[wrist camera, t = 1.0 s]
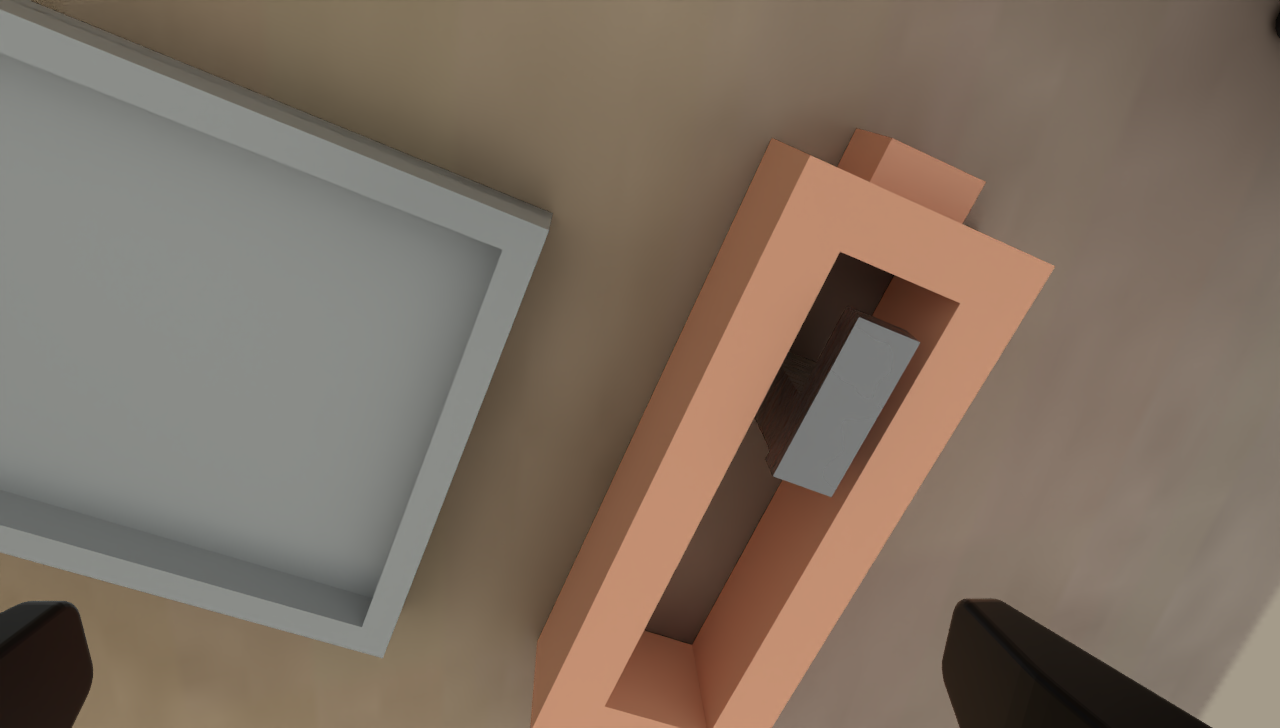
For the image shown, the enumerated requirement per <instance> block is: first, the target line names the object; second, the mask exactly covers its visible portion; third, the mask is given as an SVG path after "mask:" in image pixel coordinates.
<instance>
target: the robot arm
mask: <svg viewBox="0 0 1280 728" xmlns="http://www.w3.org/2000/svg"><path fill="white" fill-rule="evenodd" d="M1276 31H1277V35H1278V36H1279V37H1280V12H1279V15H1278V17H1277V19H1276ZM942 672H943V679H944V683H945V686H946V689H947V692H948V695H949V698H950V701H951V704H952V707H953V710H954V712H955V715H956V718H957V721H958V724H959V727H960V728H1212V727H1210V726H1208V725H1207V724H1205V723H1204V722H1202V721H1200V720H1199V719H1197V718H1195V717H1194V716H1192V715H1190V714H1189V713H1187V712H1185V711H1184V710H1182V709H1180V708H1179V707H1177V706H1175V705H1174V704H1172V703H1170V702H1169V701H1167V700H1165V699H1164V698H1162V697H1160V696H1159V695H1157V694H1155V693H1154V692H1152V691H1150V690H1149V689H1147V688H1145V687H1144V686H1142V685H1140V684H1139V683H1137V682H1135V681H1134V680H1132V679H1130V678H1129V677H1127V676H1125V675H1124V674H1122V673H1120V672H1119V671H1117V670H1116V669H1114V668H1112V667H1111V666H1109V665H1107V664H1106V663H1104V662H1102V661H1101V660H1099V659H1097V658H1096V657H1094V656H1092V655H1091V654H1089V653H1087V652H1086V651H1084V650H1082V649H1081V648H1079V647H1077V646H1076V645H1074V644H1072V643H1071V642H1069V641H1067V640H1066V639H1064V638H1062V637H1061V636H1059V635H1057V634H1056V633H1054V632H1052V631H1051V630H1049V629H1047V628H1046V627H1044V626H1042V625H1041V624H1039V623H1037V622H1036V621H1034V620H1032V619H1031V618H1029V617H1027V616H1026V615H1024V614H1023V613H1021V612H1019V611H1018V610H1016V609H1014V608H1013V607H1011V606H1009V605H1008V604H1006V603H1004V602H1002V601H1001V600H998V599H963V600H961V601H959V602H958V603H957V605H956V606H955V609H954V612H953V615H952V620H951V624H950V628H949V633H948V637H947V642H946V646H945V650H944V655H943V660H942ZM92 679H93V665H92V660H91V656H90V653H89V649H88V645H87V641H86V637H85V633H84V629H83V625H82V621H81V618H80V614H79V612H78V609H77V608H76V607H75V606H74V605H73V604H72V603H69V602H67V601H28V602H24V603H21V604H18V605H16V606H14V607H12V608H10V609H8V610H6V611H4V612H2V613H0V728H72V726H73V724H74V722H75V720H76V718H77V716H78V714H79V712H80V710H81V708H82V706H83V704H84V702H85V700H86V698H87V695H88V693H89V690H90V687H91V684H92Z"/></svg>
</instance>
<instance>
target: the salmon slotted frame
mask: <svg viewBox="0 0 1280 728" xmlns="http://www.w3.org/2000/svg"><path fill="white" fill-rule="evenodd" d="M985 183H986V182H985V181H983V180H980V179H978V178H976V177H974V176H972V175H970V174H968V173H966V172H963V171H961V170H959V169H957V168H955V167H953V166H951V165H949V164H946V163H944V162H942V161H940V160H938V159H936V158H934V157H932V156H929V155H927V154H925V153H923V152H921V151H919V150H917V149H914V148H912V147H910V146H908V145H906V144H904V143H902V142H900V141H897V140H895V139H893V138H890V137H887V136H883V135H879V134H876V133H872V132H868V131H865V130H861V129H857V128H856V130H855V132H854V134H853V136H852V138H851V140H850V142H849V144H848V146H847V148H846V150H845V152H844V154H843V156H842V158H841V160H840V162H839V164H838V166H837V167H835V166H833V165H831V164H829V163H827V162H824V161H822V160H820V159H818V158H816V157H813V156H811V155H809V154H807V153H804V152H802V151H800V150H798V149H796V148H793V147H791V146H789V145H787V144H785V143H782V142H780V141H778V140H776V139H773V138H772V139H771V141H770V143H769V145H768V147H767V150H766V152H765V154H764V156H763V158H762V160H761V162H760V165H759V167H758V169H757V171H756V173H755V175H754V177H753V180H752V182H751V184H750V186H749V188H748V190H747V192H746V195H745V197H744V199H743V201H742V203H741V205H740V208H739V210H738V212H737V214H736V216H735V218H734V220H733V223H732V225H731V227H730V229H729V231H728V233H727V235H726V238H725V240H724V242H723V244H722V246H721V248H720V250H719V253H718V255H717V257H716V259H715V261H714V263H713V265H712V268H711V270H710V272H709V274H708V276H707V278H706V281H705V283H704V285H703V287H702V289H701V291H700V293H699V296H698V298H697V300H696V302H695V304H694V306H693V308H692V311H691V313H690V315H689V317H688V319H687V321H686V323H685V326H684V328H683V330H682V332H681V334H680V336H679V338H678V341H677V343H676V345H675V347H674V349H673V351H672V354H671V356H670V358H669V360H668V362H667V364H666V366H665V369H664V371H663V373H662V375H661V377H660V379H659V381H658V384H657V386H656V388H655V390H654V392H653V394H652V396H651V399H650V401H649V403H648V405H647V407H646V409H645V411H644V414H643V416H642V418H641V420H640V422H639V424H638V427H637V429H636V431H635V433H634V435H633V437H632V439H631V442H630V444H629V446H628V448H627V450H626V452H625V454H624V457H623V459H622V461H621V463H620V465H619V467H618V469H617V472H616V474H615V476H614V478H613V480H612V482H611V484H610V487H609V489H608V491H607V493H606V495H605V497H604V500H603V502H602V504H601V506H600V508H599V510H598V512H597V515H596V517H595V519H594V521H593V523H592V525H591V527H590V530H589V532H588V534H587V536H586V538H585V540H584V542H583V545H582V547H581V549H580V551H579V553H578V555H577V557H576V560H575V562H574V564H573V566H572V568H571V570H570V573H569V575H568V577H567V579H566V581H565V583H564V585H563V588H562V590H561V592H560V594H559V596H558V598H557V600H556V603H555V605H554V607H553V609H552V611H551V613H550V615H549V618H548V620H547V622H546V624H545V626H544V628H543V630H542V633H541V635H540V637H539V639H538V641H537V652H536V664H535V676H534V689H533V701H532V713H531V725H530V728H772V726H773V725H774V723H775V722H776V720H777V718H778V717H779V715H780V713H781V712H782V710H783V709H784V707H785V705H786V704H787V702H788V700H789V699H790V697H791V696H792V694H793V692H794V691H795V689H796V687H797V686H798V684H799V682H800V681H801V679H802V678H803V676H804V674H805V673H806V671H807V669H808V668H809V666H810V665H811V663H812V661H813V660H814V658H815V656H816V655H817V653H818V652H819V650H820V648H821V647H822V645H823V643H824V642H825V640H826V639H827V637H828V635H829V634H830V632H831V630H832V629H833V627H834V626H835V624H836V622H837V621H838V619H839V617H840V616H841V614H842V613H843V611H844V609H845V608H846V606H847V604H848V603H849V601H850V600H851V598H852V596H853V595H854V593H855V591H856V590H857V588H858V586H859V585H860V583H861V582H862V580H863V578H864V577H865V575H866V573H867V572H868V570H869V569H870V567H871V565H872V564H873V562H874V560H875V559H876V557H877V556H878V554H879V552H880V551H881V549H882V547H883V546H884V544H885V543H886V541H887V539H888V538H889V536H890V534H891V533H892V531H893V530H894V528H895V526H896V525H897V523H898V521H899V520H900V518H901V517H902V515H903V513H904V512H905V510H906V508H907V507H908V505H909V504H910V502H911V500H912V499H913V497H914V495H915V494H916V492H917V490H918V489H919V487H920V486H921V484H922V482H923V481H924V479H925V477H926V476H927V474H928V473H929V471H930V469H931V468H932V466H933V464H934V463H935V461H936V460H937V458H938V456H939V455H940V453H941V451H942V450H943V448H944V447H945V445H946V443H947V442H948V440H949V438H950V437H951V435H952V434H953V432H954V430H955V429H956V427H957V425H958V424H959V422H960V421H961V419H962V417H963V416H964V414H965V412H966V411H967V409H968V408H969V406H970V404H971V403H972V401H973V399H974V398H975V396H976V395H977V393H978V391H979V390H980V388H981V386H982V385H983V383H984V381H985V380H986V378H987V377H988V375H989V373H990V372H991V370H992V368H993V367H994V365H995V364H996V362H997V360H998V359H999V357H1000V355H1001V354H1002V352H1003V351H1004V349H1005V347H1006V346H1007V344H1008V342H1009V341H1010V339H1011V338H1012V336H1013V334H1014V333H1015V331H1016V329H1017V328H1018V326H1019V325H1020V323H1021V321H1022V320H1023V318H1024V316H1025V315H1026V313H1027V312H1028V310H1029V308H1030V307H1031V305H1032V303H1033V302H1034V300H1035V299H1036V297H1037V295H1038V294H1039V292H1040V290H1041V289H1042V287H1043V285H1044V284H1045V282H1046V281H1047V279H1048V277H1049V276H1050V274H1051V272H1052V271H1053V269H1054V268H1055V266H1053V265H1051V264H1049V263H1047V262H1045V261H1042V260H1040V259H1038V258H1036V257H1034V256H1031V255H1029V254H1027V253H1025V252H1023V251H1020V250H1018V249H1016V248H1014V247H1012V246H1009V245H1007V244H1005V243H1003V242H1001V241H998V240H996V239H994V238H992V237H990V236H987V235H985V234H983V233H981V232H979V231H976V230H974V229H972V228H970V227H968V226H965V225H963V222H964V220H965V219H966V217H967V215H968V213H969V211H970V210H971V208H972V206H973V204H974V203H975V201H976V199H977V197H978V195H979V194H980V192H981V190H982V188H983V187H984V185H985ZM840 252H842V253H844V254H847V255H849V256H851V257H854V258H856V259H858V260H861V261H863V262H865V263H868V264H870V265H872V266H875V267H877V268H879V269H882V270H884V271H886V272H889V273H891V274H893V275H894V277H893V279H892V280H891V282H890V284H889V286H888V288H887V290H886V291H885V293H884V295H883V297H882V299H881V301H880V302H879V304H878V306H877V308H876V310H875V311H874V313H873V315H872V316H873V317H876V318H878V319H880V320H883V321H885V322H888V323H890V324H892V325H895V326H897V327H900V328H902V329H904V330H907V331H908V332H909V333H910V334H911V335H912V336H914V337H915V338H916V339H917V340H918V341H919V342H920V344H919V346H918V348H917V350H916V351H915V353H914V355H913V357H912V358H911V360H910V362H909V364H908V365H907V367H906V369H905V371H904V372H903V374H902V376H901V377H900V379H899V381H898V383H897V384H896V386H895V388H894V390H893V391H892V393H891V395H890V397H889V398H888V400H887V402H886V404H885V405H884V407H883V409H882V411H881V412H880V414H879V416H878V417H877V419H876V421H875V423H874V424H873V426H872V428H871V430H870V431H869V433H868V435H867V437H866V438H865V440H864V442H863V444H862V445H861V447H860V449H859V450H858V452H857V454H856V456H855V457H854V459H853V461H852V463H851V464H850V466H849V468H848V470H847V471H846V473H845V475H844V477H843V478H842V480H841V482H840V484H839V485H838V487H837V489H836V490H835V492H834V494H833V496H832V497H829V496H827V495H824V494H821V493H818V492H815V491H813V490H810V489H807V488H804V487H802V486H799V485H796V484H793V483H790V482H788V481H785V480H782V482H781V483H780V485H779V487H778V489H777V491H776V492H775V494H774V496H773V498H772V500H771V502H770V503H769V505H768V507H767V509H766V511H765V513H764V514H763V516H762V518H761V520H760V522H759V524H758V525H757V527H756V529H755V531H754V533H753V535H752V536H751V538H750V540H749V542H748V544H747V546H746V547H745V549H744V551H743V553H742V555H741V556H740V558H739V560H738V562H737V564H736V566H735V567H734V569H733V571H732V573H731V575H730V577H729V578H728V580H727V582H726V584H725V586H724V588H723V589H722V591H721V593H720V595H719V597H718V599H717V600H716V602H715V604H714V606H713V608H712V610H711V611H710V613H709V615H708V617H707V619H706V620H705V622H704V624H703V626H702V628H701V630H700V631H699V633H698V635H697V637H696V639H695V641H694V642H693V644H692V645H690V644H687V643H684V642H681V641H677V640H674V639H671V638H667V637H664V636H661V635H658V634H654V633H651V632H648V631H644V629H645V627H646V626H647V624H648V622H649V620H650V618H651V616H652V614H653V612H654V610H655V608H656V606H657V604H658V602H659V600H660V598H661V597H662V595H663V593H664V591H665V589H666V587H667V585H668V583H669V581H670V579H671V577H672V575H673V573H674V571H675V570H676V568H677V566H678V564H679V562H680V560H681V558H682V556H683V554H684V552H685V550H686V548H687V546H688V544H689V542H690V541H691V539H692V537H693V535H694V533H695V531H696V529H697V527H698V525H699V523H700V521H701V519H702V517H703V515H704V514H705V512H706V510H707V508H708V506H709V504H710V502H711V500H712V498H713V496H714V494H715V492H716V490H717V488H718V487H719V485H720V483H721V481H722V479H723V477H724V475H725V473H726V471H727V469H728V467H729V465H730V463H731V461H732V459H733V458H734V456H735V454H736V452H737V450H738V448H739V446H740V444H741V442H742V440H743V438H744V436H745V434H746V432H747V431H748V429H749V427H750V425H751V423H752V421H753V419H754V417H755V415H756V413H757V411H758V409H759V407H760V405H761V403H762V402H763V400H764V398H765V396H766V394H767V392H768V390H769V388H770V386H771V384H772V382H773V380H774V378H775V376H776V375H777V373H778V371H779V369H780V367H781V365H782V363H783V361H784V359H785V357H786V355H787V353H788V351H789V349H790V348H791V346H792V344H793V342H794V340H795V338H796V336H797V334H798V332H799V330H800V328H801V326H802V324H803V322H804V320H805V319H806V317H807V315H808V313H809V311H810V309H811V307H812V305H813V303H814V301H815V299H816V297H817V295H818V293H819V292H820V290H821V288H822V286H823V284H824V282H825V280H826V278H827V276H828V274H829V272H830V270H831V268H832V266H833V264H834V263H835V261H836V259H837V257H838V255H839V253H840Z"/></svg>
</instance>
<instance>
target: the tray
mask: <svg viewBox="0 0 1280 728" xmlns="http://www.w3.org/2000/svg"><path fill="white" fill-rule="evenodd" d="M552 214H553V213H551V212H548V211H546V210H543V209H541V208H538V207H536V206H533V205H531V204H528V203H526V202H524V201H521V200H519V199H516V198H514V197H511V196H509V195H506V194H504V193H501V192H499V191H497V190H494V189H492V188H489V187H487V186H484V185H482V184H479V183H477V182H474V181H472V180H470V179H467V178H465V177H462V176H460V175H457V174H455V173H452V172H450V171H447V170H445V169H443V168H440V167H438V166H435V165H433V164H430V163H428V162H425V161H423V160H420V159H418V158H416V157H413V156H411V155H408V154H406V153H403V152H401V151H398V150H396V149H393V148H391V147H389V146H386V145H384V144H381V143H379V142H376V141H374V140H371V139H369V138H366V137H364V136H362V135H359V134H357V133H354V132H352V131H349V130H347V129H344V128H342V127H339V126H337V125H335V124H332V123H330V122H327V121H325V120H322V119H320V118H317V117H315V116H312V115H310V114H308V113H305V112H303V111H300V110H298V109H295V108H293V107H290V106H288V105H285V104H283V103H281V102H278V101H276V100H273V99H271V98H268V97H266V96H263V95H261V94H258V93H256V92H253V91H251V90H249V89H246V88H244V87H241V86H239V85H236V84H234V83H231V82H229V81H226V80H224V79H222V78H219V77H217V76H214V75H212V74H209V73H207V72H204V71H202V70H199V69H197V68H195V67H192V66H190V65H187V64H185V63H182V62H180V61H177V60H175V59H172V58H170V57H168V56H165V55H163V54H160V53H158V52H155V51H153V50H150V49H148V48H145V47H143V46H141V45H138V44H136V43H133V42H131V41H128V40H126V39H123V38H121V37H118V36H116V35H114V34H111V33H109V32H106V31H104V30H101V29H99V28H96V27H94V26H91V25H89V24H87V23H84V22H82V21H79V20H77V19H74V18H72V17H69V16H67V15H64V14H62V13H60V12H57V11H55V10H52V9H50V8H47V7H45V6H42V5H40V4H37V3H35V2H33V1H30V0H0V552H1V553H4V554H8V555H12V556H15V557H19V558H23V559H26V560H30V561H33V562H37V563H41V564H44V565H48V566H51V567H55V568H59V569H62V570H66V571H70V572H73V573H77V574H80V575H84V576H88V577H91V578H95V579H98V580H102V581H106V582H109V583H113V584H117V585H120V586H124V587H127V588H131V589H135V590H138V591H142V592H145V593H149V594H153V595H156V596H160V597H163V598H167V599H171V600H174V601H178V602H182V603H185V604H189V605H192V606H196V607H200V608H203V609H207V610H210V611H214V612H218V613H221V614H225V615H229V616H232V617H236V618H239V619H243V620H247V621H250V622H254V623H257V624H261V625H265V626H268V627H272V628H276V629H279V630H283V631H286V632H290V633H294V634H297V635H301V636H304V637H308V638H312V639H315V640H319V641H323V642H326V643H330V644H333V645H337V646H341V647H344V648H348V649H351V650H355V651H359V652H362V653H366V654H370V655H373V656H377V657H380V658H383V656H384V654H385V651H386V648H387V646H388V643H389V641H390V638H391V636H392V633H393V630H394V628H395V625H396V623H397V620H398V618H399V615H400V612H401V610H402V607H403V605H404V602H405V600H406V597H407V594H408V592H409V589H410V587H411V584H412V582H413V579H414V576H415V574H416V571H417V569H418V566H419V564H420V561H421V558H422V556H423V553H424V551H425V548H426V546H427V543H428V540H429V538H430V535H431V533H432V530H433V528H434V525H435V522H436V520H437V517H438V515H439V512H440V510H441V507H442V504H443V502H444V499H445V497H446V494H447V492H448V489H449V486H450V484H451V481H452V479H453V476H454V474H455V471H456V468H457V466H458V463H459V461H460V458H461V456H462V453H463V450H464V448H465V445H466V443H467V440H468V438H469V435H470V432H471V430H472V427H473V425H474V422H475V420H476V417H477V414H478V412H479V409H480V407H481V404H482V402H483V399H484V396H485V394H486V391H487V389H488V386H489V384H490V381H491V379H492V376H493V373H494V371H495V368H496V366H497V363H498V361H499V358H500V355H501V353H502V350H503V348H504V345H505V343H506V340H507V337H508V335H509V332H510V330H511V327H512V325H513V322H514V319H515V317H516V314H517V312H518V309H519V307H520V304H521V301H522V299H523V296H524V294H525V291H526V289H527V286H528V283H529V281H530V278H531V276H532V273H533V271H534V268H535V265H536V263H537V260H538V258H539V255H540V253H541V250H542V247H543V245H544V242H545V240H546V237H547V235H548V232H549V229H550V224H551V219H552Z"/></svg>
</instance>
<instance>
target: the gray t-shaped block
mask: <svg viewBox="0 0 1280 728" xmlns="http://www.w3.org/2000/svg"><path fill="white" fill-rule="evenodd" d="M919 344H920V342H919V341H918V340H917V339H916V338H915V337H914V336H912V335H911V334H910V333H909V332H908V331H907V330H904V329H902V328H900V327H897V326H895V325H892V324H890V323H888V322H885V321H883V320H880V319H878V318H876V317H873V316H871V315H868V314H866V313H864V312H861V311H859V310H856V309H854V308H851V307H849V306H847V307H846V309H845V311H844V313H843V314H842V316H841V318H840V320H839V322H838V324H837V326H836V328H835V329H834V331H833V333H832V335H831V337H830V339H829V341H828V343H827V344H826V346H825V348H824V350H823V352H822V354H821V356H820V358H819V359H818V361H817V363H816V362H813V361H811V360H808V359H806V358H803V357H801V356H798V355H796V354H793V353H791V352H788V353H787V355H786V357H785V359H784V361H783V363H782V365H781V367H780V369H779V371H778V373H777V375H776V376H775V378H774V380H773V382H772V384H771V386H770V388H769V390H768V392H767V394H766V396H765V398H764V400H763V402H762V403H761V405H760V407H759V409H758V411H757V413H756V415H755V419H756V421H757V423H758V425H759V427H760V430H761V432H762V434H763V436H764V438H765V440H766V442H767V445H768V447H769V449H770V451H769V453H768V455H767V457H766V459H765V460H766V462H767V464H768V466H769V469H770V471H771V473H772V475H773V476H774V477H776V478H779V479H782V480H785V481H788V482H790V483H793V484H796V485H799V486H802V487H804V488H807V489H810V490H813V491H815V492H818V493H821V494H824V495H827V496H829V497H832V496H833V494H834V492H835V490H836V489H837V487H838V485H839V484H840V482H841V480H842V478H843V477H844V475H845V473H846V471H847V470H848V468H849V466H850V464H851V463H852V461H853V459H854V457H855V456H856V454H857V452H858V450H859V449H860V447H861V445H862V444H863V442H864V440H865V438H866V437H867V435H868V433H869V431H870V430H871V428H872V426H873V424H874V423H875V421H876V419H877V417H878V416H879V414H880V412H881V411H882V409H883V407H884V405H885V404H886V402H887V400H888V398H889V397H890V395H891V393H892V391H893V390H894V388H895V386H896V384H897V383H898V381H899V379H900V377H901V376H902V374H903V372H904V371H905V369H906V367H907V365H908V364H909V362H910V360H911V358H912V357H913V355H914V353H915V351H916V350H917V348H918V346H919Z"/></svg>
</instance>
